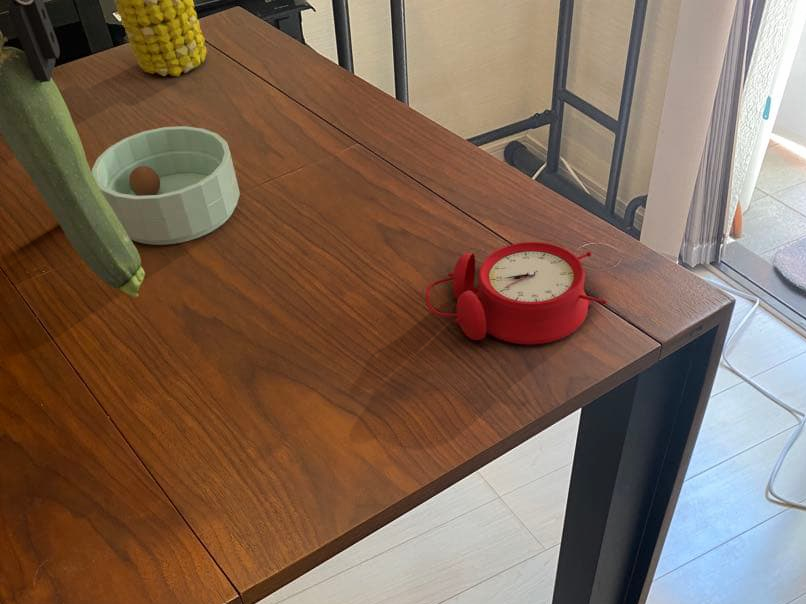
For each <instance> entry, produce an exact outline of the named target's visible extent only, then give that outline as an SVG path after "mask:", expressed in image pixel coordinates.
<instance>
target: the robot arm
mask: <svg viewBox="0 0 806 604" xmlns="http://www.w3.org/2000/svg"><path fill="white" fill-rule="evenodd" d="M8 14H9V17H10V19H11V22H12V25H13V27H14V30H15V32H16V36H17V37H18V40H19V42H20V45H21V47H22V51H23V52H25V55H26V57H27V60H28V62H29V65H30V67H31V70H32V72H33V75H34V77H35V79H36V80H39V81H40V82H48V81H50V79H51V78H52V75H53V72H54V69H55V66H56V59H59V58H60V56H61V55H60V54H61V50H60V46H59V41H58V39H57V36H56V33H55V30H54V28H53V24H52V22H51V19H50V16H49V14H48V11H47V8H46V6H45V3H44V0H11V2H10V4H9V6H8Z"/></svg>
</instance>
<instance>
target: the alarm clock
mask: <svg viewBox="0 0 806 604" xmlns="http://www.w3.org/2000/svg"><path fill="white" fill-rule="evenodd" d="M591 256H592V252H591V250H588V251H587V252H586V253H584V254H582V255H579V256H576V254H574V253H572V252H571V251H569V250H568V249H566V248H564V247H562V246H559V245H556V244H552V243H548V242H541V241H526V242H525V241H523V242H518V243H513V244H509V245H506V246H503V247H501V248H499V249H497V250H494V252H492V253H491V254H489V255H488V256H487V257H486V258H485V260H484V261H483V262H482V264H481V266H480V268H479V272H478V275H477V278H478V287H474V284H475V276H476V257H475V253H473V252H466V253H464V254H462V255H461V256H460V257H459V258H458V259H457V261H456V264H455V266H454V270H453V272H449V273H448V277H445V278H442V279H439V280H435V281H434V282H432V283H431V284H430V285H429V286H428V287H427V289H426V293H425V302H426V305H427V308H428V309H429V311H430V312H431V313H432V314H434V315H436V316H439V317H446V318H447V317H449V318H450V317H452V318H453V317H455V319H454V321H455V323H458V325H459V326H460V329H461V330H462V332H463V333H464V334H465V336H466V337H467V338H468V339H469V340H472V341H480V340H483V339H485V338H486V335H487V334H488V335H490V336H492V337H493V338H496V339H498V340H500V341H504V342H508V343H512V344H520V345H543V344H547V343H552V342H555V341H558V340H561V339H563V338H565V337H567V336H570V335H571V334H572V333H574V332H575V331H577V330H578V329H579V328H580V327H581V326H582V325H583V323H584V322H585V320H586V318H587V316H588V311H589V307H590V309H591V307H592V304H591V302H597V303H601V305H603V306H604V305H606V304H607V300H606V298H605V299H604V298H603V299H599V298H595V297H593V296H589V295H587V294H586V292H585V290H584V285H585V280H586V276H585V275H586V273H585V270H584V266H583V264H582V261H581V260H582V259H584V258H586V257H591ZM450 281H452V290H453V294H454V297H455V298H456V299H457V302H456V308H455V309H456V310H455V311H456V313H445V312H444V313H442V312H438V311H437V310H435V309H434V308H433V307H432V305H431V302H430V292H431V290H432V288H433V287H435V286H436V285H439V284H441V283H444V282H450ZM474 292H475V293H474Z"/></svg>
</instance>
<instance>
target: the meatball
mask: <svg viewBox="0 0 806 604" xmlns="http://www.w3.org/2000/svg"><path fill="white" fill-rule="evenodd" d="M129 184H130V187H131V189H132V191H133V192H134V193H135V194H136V195H137V196H147V195H156V194H157V193H158V191H159V189H160V179H159V177H158V175H157V173H156V172H155V171H154V170H153V169H151V168H149V167H146V166H140V167H137V168H135V169H134V170H133V171H132V172H131V174H130V177H129Z"/></svg>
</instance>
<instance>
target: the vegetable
mask: <svg viewBox="0 0 806 604" xmlns="http://www.w3.org/2000/svg"><path fill="white" fill-rule="evenodd" d="M3 36H4V35H3V33H2V31H1V30H0V134H1V136H2V138H3V139H4V141H5V143H6V144H7V145H8V147H9V149H10V150H11V152H12V154H13V155H14V157H15V158H16V160H17V161H18V163H19V164H20V165H21V166H22V168H23V169H24V171H25V172H26V174H27V175H28V177H29V179H30V181H31V182H32V184H33V186H34V187H35V189H36V191H37V192H38V193H39V195H40V196H41V198H42V200H43V201H44V202H45V204H46V205H47V207H48V208H49V210H50V211H51V213H52V215H53V216H54V217H55V219H56V221H57V222H58V224H59V226H60V228H61V229H62V231H63V233H64V235H65V236H66V238H67V239H68V241H69V243H70V244H71V245H72V246H73V249H74V250H75V251H76V253H77V254H78V255H79V256H80V258H81V259H82V260H83V261H84V262H85V264H86V265H87V266H88V267H89V268H90V269H91V271H92V272H93V273H94V274H95V275H96V276H97V278H99V279H100V280H101V281H102V282H103V283H105V284H106V285H108V286H110V287H111V288H114V289H119V290H120V291H121V292H123V293H124V294H127V295H129V296H131V297H135V298H137V297H139V294H138V292H139V290H140V286H141V284H142V283H143V282H144V280H145V275H146V272H145V270H144V268H143V267H142V259H141V256H140V254H139V251H138V249H137V247H136V246H135V244H134V243H133V240H131V239H130V238H129V236H128V234H127V233H126V231H125V229H124V228H123V226H122V224H121V222H120V221H119V219H118V217H117V216H116V214H115V212H114V211H113V209H112V208H111V206H110V205H109V203H108V202H107V200H106V199H105V197H104V196H103V194H102V192H101V190H100V188H99V186H98V184H97V182H96V180H95V178H94V176H93V174H92V169H91V167H90V165H89V163H88V161H87V157H86V153H85V149H84V147H83V143H82V141H81V138H80V135H79V133H78V131H77V128H76V126H75V124H74V122H73V118H72V115H71V113H70V111H69V108H68V106H67V104H66V102H65V100H64V98H63V96H62V94H61V92H60V90H59V88H58V86H57V84H56V83H55V81H54V79H53V78H52V77H51V79H50V81H48V82H40V81H39V80H36V79H35V77H34V75H33V72H32V70H31V67H30V65H29V62H28V60H27V57H26V55H25V52H24V50H23V49H22V50H21V49H19V48H17V47H12V46H5V44H6V42H8V41H9V39H8V38H7V36H4V37H3Z"/></svg>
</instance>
